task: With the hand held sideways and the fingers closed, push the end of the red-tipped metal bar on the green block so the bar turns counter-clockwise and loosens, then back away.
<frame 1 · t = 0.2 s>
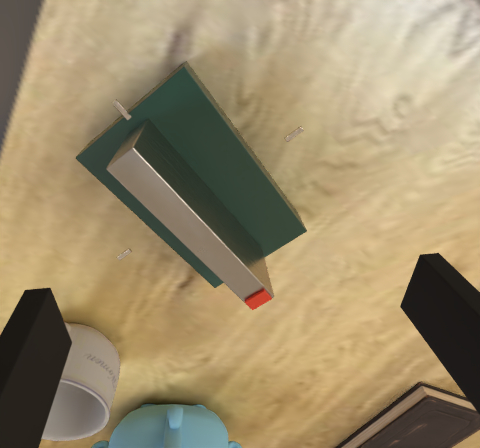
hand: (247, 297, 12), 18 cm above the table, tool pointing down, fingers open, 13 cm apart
teacup: (77, 332, 37), on the table
decorative pot: (171, 420, 48), on the table
green block: (202, 182, 29), on the table
red-tipped metal bar: (202, 219, 24), point 6 cm above the table, hinge at 0.0°
hardcover book: (401, 431, 56), on the table
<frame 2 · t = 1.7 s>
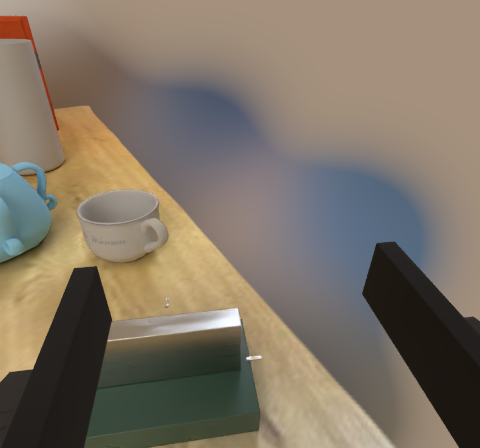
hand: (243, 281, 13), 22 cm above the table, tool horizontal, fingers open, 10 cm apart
cylinder vase: (36, 165, 77), on the table
teacup: (134, 254, 50), on the table
green block: (167, 388, 32), on the table
red-tipped metal bar: (159, 348, 29), point 6 cm above the table, hinge at 0.0°
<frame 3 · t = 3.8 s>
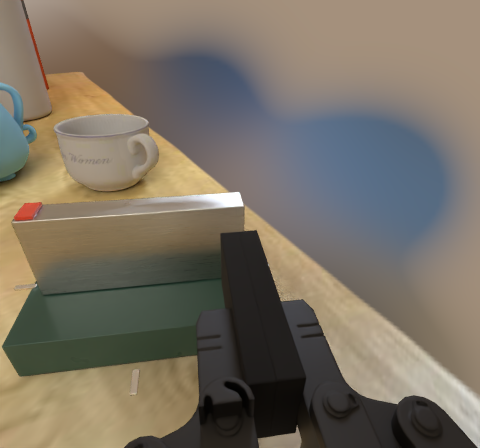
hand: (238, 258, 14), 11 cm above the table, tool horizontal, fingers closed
cylinder vase: (20, 116, 71), on the table
teacup: (121, 186, 44), on the table
green block: (153, 305, 26), on the table
red-tipped metal bar: (141, 242, 23), point 6 cm above the table, hinge at 0.0°
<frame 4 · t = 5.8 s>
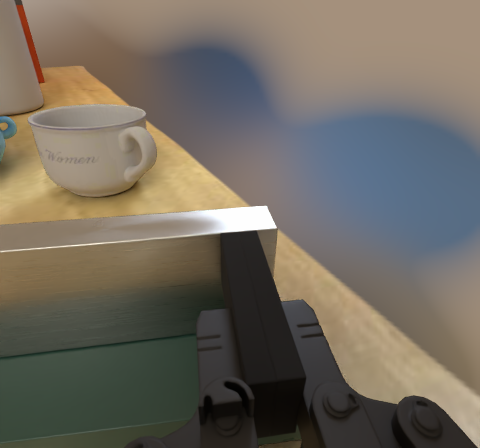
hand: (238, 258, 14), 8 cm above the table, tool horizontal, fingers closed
cylinder vase: (9, 109, 64), on the table
teacup: (112, 190, 37), on the table
green block: (140, 362, 19), on the table
red-tipped metal bar: (120, 280, 15), point 6 cm above the table, hinge at 1.9°, touching gripper
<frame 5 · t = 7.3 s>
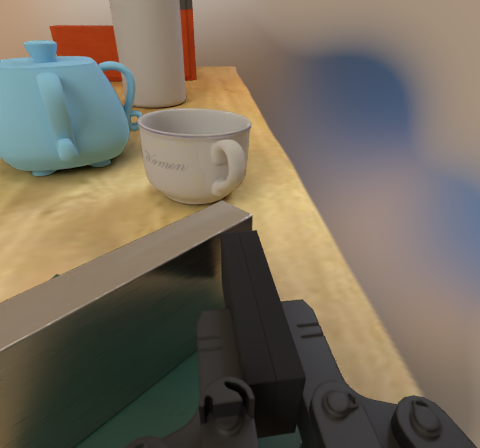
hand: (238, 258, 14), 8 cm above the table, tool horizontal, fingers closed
cylinder vase: (156, 102, 71), on the table
clamp: (133, 79, 95), on the table
teacup: (203, 199, 35), on the table
decorative pot: (72, 159, 44), on the table
green block: (133, 420, 16), on the table
red-tipped metal bar: (108, 336, 13), point 6 cm above the table, hinge at 63.1°, touching gripper
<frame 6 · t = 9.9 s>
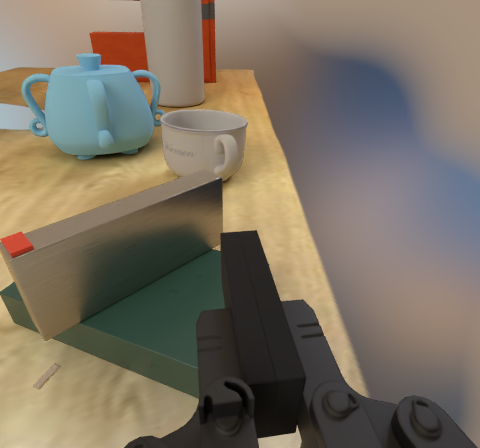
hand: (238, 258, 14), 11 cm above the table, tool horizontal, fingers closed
cylinder vase: (178, 102, 82), on the table
clamp: (159, 80, 105), on the table
teacup: (208, 181, 45), on the table
decorative pot: (107, 148, 55), on the table
green block: (148, 306, 26), on the table
red-tipped metal bar: (136, 241, 22), point 6 cm above the table, hinge at 66.8°
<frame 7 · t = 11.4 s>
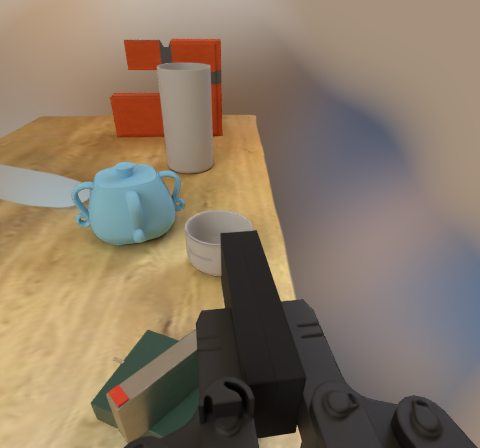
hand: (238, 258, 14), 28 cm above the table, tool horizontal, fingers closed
cylinder vase: (190, 165, 93), on the table
clamp: (171, 133, 117), on the table
teacup: (222, 270, 56), on the table
decorative pot: (136, 229, 66), on the table
green block: (186, 403, 37), on the table
red-tipped metal bar: (181, 369, 34), point 6 cm above the table, hinge at 66.8°
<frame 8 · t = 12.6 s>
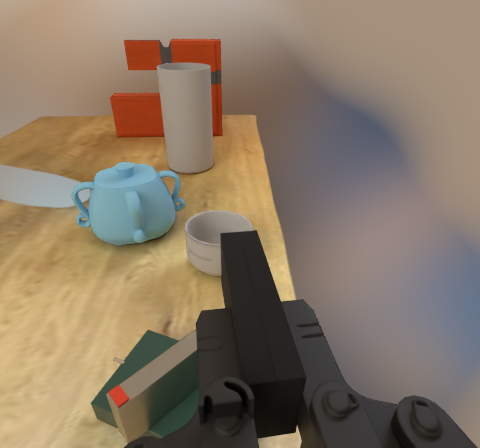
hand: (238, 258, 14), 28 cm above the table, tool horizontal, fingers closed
cylinder vase: (191, 166, 93), on the table
clamp: (171, 133, 117), on the table
teacup: (222, 270, 56), on the table
decorative pot: (136, 230, 66), on the table
green block: (186, 403, 37), on the table
red-tipped metal bar: (181, 369, 34), point 6 cm above the table, hinge at 66.8°
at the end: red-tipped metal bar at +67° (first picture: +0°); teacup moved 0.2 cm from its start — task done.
